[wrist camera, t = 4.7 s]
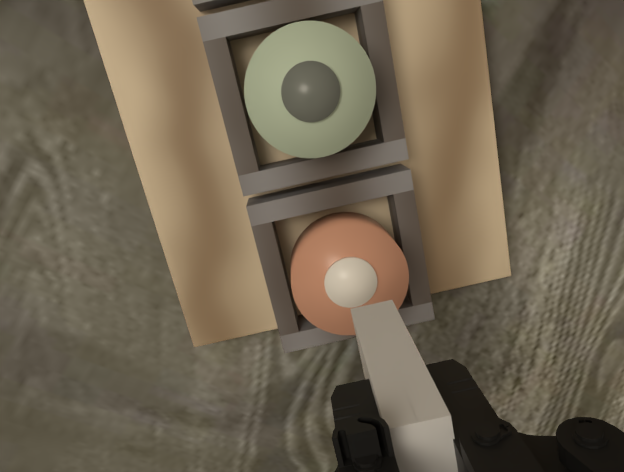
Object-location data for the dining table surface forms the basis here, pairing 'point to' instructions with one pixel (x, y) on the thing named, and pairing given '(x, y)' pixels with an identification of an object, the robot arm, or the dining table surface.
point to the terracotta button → (345, 270)
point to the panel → (305, 171)
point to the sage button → (310, 89)
